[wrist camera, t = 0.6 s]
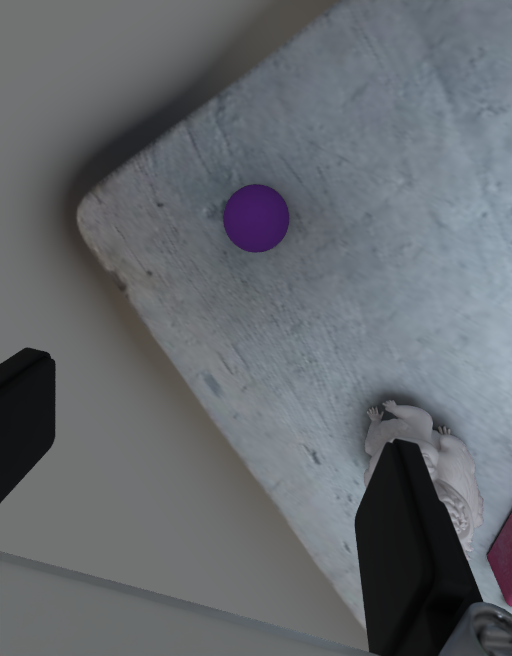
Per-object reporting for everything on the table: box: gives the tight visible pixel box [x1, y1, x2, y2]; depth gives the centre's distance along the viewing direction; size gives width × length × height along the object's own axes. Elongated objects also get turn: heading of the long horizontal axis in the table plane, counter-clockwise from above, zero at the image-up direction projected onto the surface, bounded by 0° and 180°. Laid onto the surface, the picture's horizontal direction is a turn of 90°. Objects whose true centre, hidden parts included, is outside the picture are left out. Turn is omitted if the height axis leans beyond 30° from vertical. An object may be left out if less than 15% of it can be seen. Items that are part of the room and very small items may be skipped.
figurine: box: [364, 400, 483, 560], centre depth 29 cm, size 8×15×13 cm, turn 37°
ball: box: [223, 184, 289, 252], centre depth 27 cm, size 4×4×4 cm
